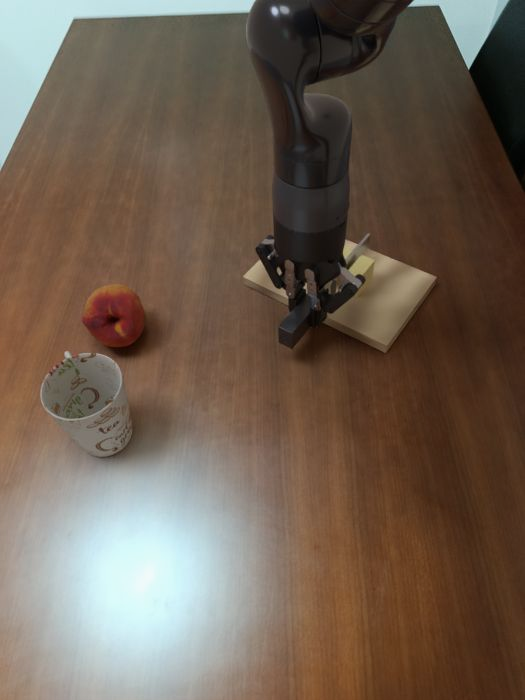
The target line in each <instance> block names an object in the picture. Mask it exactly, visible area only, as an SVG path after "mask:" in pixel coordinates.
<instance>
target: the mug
mask: <svg viewBox="0 0 525 700" xmlns="http://www.w3.org/2000/svg"><path fill="white" fill-rule="evenodd" d="M63 355H64V358H65V359H63V360H61V361H60V362H58V363H57V364H55V366H54V367H52V368H51V369H50V370H49V371H48V373H47V374H46V376H45V377H44V378H43V380H42V383H41V386H40V391H39V396H40V397H39V398H40V401H41V404H42V407H43V409H44V410H45V411H46V413H47V414H48V415H49V416H50V417H51V418H52V419H53V421H55V422H56V424H58V425H59V427H60V428H62V429H63V430H64V431H65V432H66V433H67V434H68V435H69V436H70V438H72V439H73V440H74V442H76V444H78V446H79V447H80V448H82V450H84V452H86V453H88V454H89V455H90V456H93V457H96V458H97V457H99V458H105V457H110V456H113V455H115V454H118V453H119V452H120V451H122V450H123V449H124V448H125V447H126V446H127V445H128V444H129V442H130V441H131V438H132V436H133V428H134V427H133V421H132V415H131V410H130V406H129V400H128V395H127V390H126V384H125V379H124V375H123V372H122V370H121V367H120V366H119V364H117V362H116V361H115V360H114V359H113V358H111V357H109V356H107V355H105V354H102V353H98V352H83V353H78V354H74V355H73V354H72V353H71V352H70V351H69V350H66V351H64V352H63Z"/></svg>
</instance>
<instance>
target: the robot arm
mask: <svg viewBox="0 0 525 700" xmlns="http://www.w3.org/2000/svg"><path fill="white" fill-rule="evenodd" d="M414 1H415V0H254V2H253V3H252V5H251V7H250V10H249V13H248V16H247V19H246V23H245V42H246V47H247V51H248V55H249V58H250V60H251V63H252V66H253V69H254V71H255V75H256V77H257V80H258V83H259V85H260V88H261V91H262V94H263V98H264V102H265V105H266V109H267V113H268V117H269V121H270V126H271V133H272V150H273V151H272V153H273V154H272V155H273V174H272V176H273V177H272V184H271V199H272V222H273V223H272V225H273V235H271V234H268V235H267V236H266V237H265V238H264V239H263V240H262V241H261V242H259V244H258V245H257V246H256V247H255V253H256V254H257V257H258V259H259V260H261V262H262V264H263V266H264V268H265V269H266V271H267V273H268V275H269V277H270V279H271V281H272V283H273V285H274V286H275V287H276V288H277V289H281V288H283V289H284V290H285V291H286V295H287V296H288V305H289V306H287V307H288V311H289V313H290V312H291V311H292V310H293V309H294V308H295V307H296V306H297V304H298V303H299V302H300V301H301V300H302V299H303V298H304V297H305V295H306V289H304V288H303V287H304V286H305V284H306V283H307V292H308V295H309V296H310V297H311V307H310V327H311V328H312V329H314V330H315V329H316V328H317V327H319V328H320V326H321V325H322V324H324V323H323V322H324V321H325V319H326V318H327V312H328V313H330V314H333V313H334V312H335V311H336V310H337V309H339V308H340V307H341V306H342V305H343V304H345V303H346V302H347V301H348V300H349V299H351V298H352V297H353V296H354V295H355V294H356V293H357V291H358V290H359V289H360V288H361V286H362V285H363V284H364V283H365V281H366V279H365V277H364V276H363V275H361V274H357V275H356V276H354V275H353V274H352V273H351V272H349V271H348V270H347V269H346V260H345V258H344V255H343V249H344V245H345V239H346V238H347V237H346V236H347V229H348V228H347V227H348V226H347V225H348V215H349V209H350V193H351V192H350V191H351V184H350V181H351V180H350V158H351V148H352V147H351V146H352V137H353V136H352V135H353V117H352V113H351V110H350V108H349V106H348V105H347V103H345V102H344V101H343V100H342V99H340V98H338V97H336V96H334V95H330V94H327V93H315V92H305V91H306V87H309V86H310V85H315V84H318V83H322V82H325V81H329V80H333V79H337V78H341V77H344V76H347V75H351V74H354V73H356V72H359V71H360V70H362V69H364V68H365V67H367V66H369V65H370V64H371V63H373V62H374V61H375V60H376V59H378V57H380V55H382V52H383V51H384V49H385V47H386V45H387V42H388V41H389V38H390V36H391V34H392V32H393V29H394V28H395V25H396V22H397V21H398V18H399V16H400V15H401V14H402V13H403V12H404V11H405V10H406V9H407V8H408V7H409V6H410V5H411V4H412V3H413V2H414ZM346 240H347V239H346ZM278 267H279V268H280V270H281V272H282V273H281V274H280V275H279V274H278V272H277V268H278ZM336 277H338V278H339V281H340V282H339V284H338V286H339V289H338V292H337V293H336V294H335V295H334V294H331V283H332V281H333V279H335V278H336Z"/></svg>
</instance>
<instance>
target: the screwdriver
mask: <svg viewBox="0 0 525 700" xmlns="http://www.w3.org/2000/svg"><path fill="white" fill-rule="evenodd" d="M371 234H372V233H369V232H367V233H366V234H365V236H363V238H362V239H361V240H360V241H359V243H357V244H358V245H357V246H356V247H355V249H354V250H353V251H352V252H351V253H350V254H349V256H348V257H347V258H346V259H345V260H346V269H347V270H349V269H350V267H351V266H352V265H353V264H354V263H355V262H356V260H357V259H358V258H359V257H360V256H361V255H364V254H365V253H366V252H367V251H368V250H369V249H370V241H371ZM339 282H340V281H339V278H338V277H336V278H335V279H333V281H332V283H331V294H334V295H335V294H336V288H337V286H338V284H339ZM310 307H311V297H310V296H309V295H308V293H307V294H306V295H305V297H304V298H303V299H302V300H301V301H300V302H299V303H298V304H297V306H296V307H295V308H294V309H293V310H292V311H291V312H289V313H288V314H287V315H286V317H285V318H284V319H283V320H282V321H281V322H280V323H279V324H278V326H277V334H278V335H277V336H278V337H277V338H278V343H279V344H281V345H283V346H285V347H287V348H288V349H291V350H293V349H294V348H295V347H296V345H297V344H299V342H300V341H301V339H302V338H303V337H304V336H305V335H306V334H307V333H308V332H309V330H310V329H311V328H312V327H310Z"/></svg>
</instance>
